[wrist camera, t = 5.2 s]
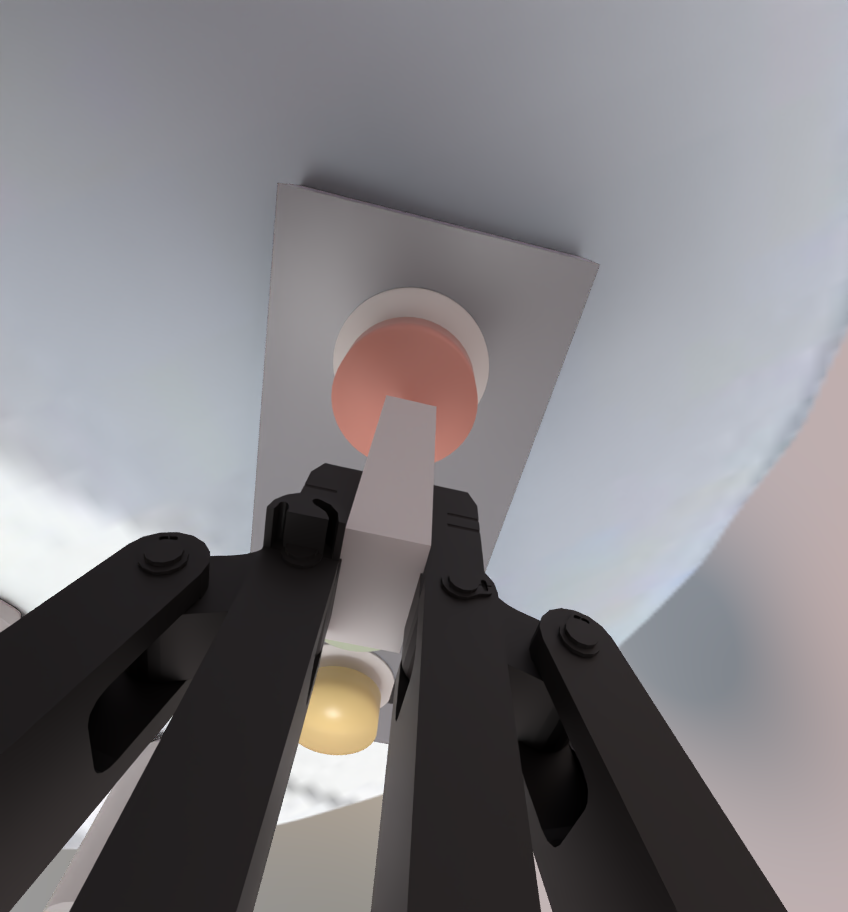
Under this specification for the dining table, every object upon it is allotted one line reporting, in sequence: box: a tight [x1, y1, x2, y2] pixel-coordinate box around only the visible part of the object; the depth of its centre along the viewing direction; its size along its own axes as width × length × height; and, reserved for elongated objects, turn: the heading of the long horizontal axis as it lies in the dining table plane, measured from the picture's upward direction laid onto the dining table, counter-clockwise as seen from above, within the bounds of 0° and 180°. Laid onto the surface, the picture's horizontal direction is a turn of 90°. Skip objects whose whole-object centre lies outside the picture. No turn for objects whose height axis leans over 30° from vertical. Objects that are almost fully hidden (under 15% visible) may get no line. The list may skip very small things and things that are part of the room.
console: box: [250, 183, 600, 744], centre depth 26 cm, size 31×12×3 cm, turn 167°
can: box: [43, 738, 161, 912], centre depth 34 cm, size 8×8×12 cm
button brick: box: [331, 317, 478, 463], centre depth 17 cm, size 5×5×2 cm
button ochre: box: [299, 666, 381, 755], centre depth 27 cm, size 5×5×2 cm
